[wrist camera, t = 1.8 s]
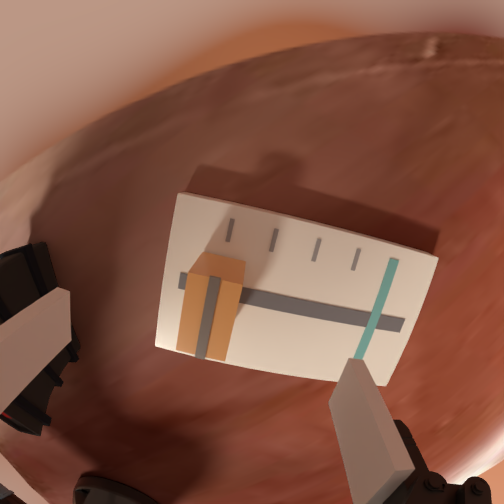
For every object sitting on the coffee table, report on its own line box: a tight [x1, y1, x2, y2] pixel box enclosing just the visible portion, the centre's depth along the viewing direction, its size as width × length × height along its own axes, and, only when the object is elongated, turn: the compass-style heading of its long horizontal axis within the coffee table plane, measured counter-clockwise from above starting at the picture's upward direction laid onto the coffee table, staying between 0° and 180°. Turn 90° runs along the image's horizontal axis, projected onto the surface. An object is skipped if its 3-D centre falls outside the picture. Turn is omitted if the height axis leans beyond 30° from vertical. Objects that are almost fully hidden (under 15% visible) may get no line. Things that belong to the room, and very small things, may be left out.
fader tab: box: [176, 252, 246, 361], centre depth 19 cm, size 5×3×5 cm, turn 167°
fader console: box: [155, 192, 438, 386], centre depth 23 cm, size 12×20×2 cm, turn 77°
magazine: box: [0, 242, 80, 436], centre depth 19 cm, size 4×13×15 cm, turn 11°
